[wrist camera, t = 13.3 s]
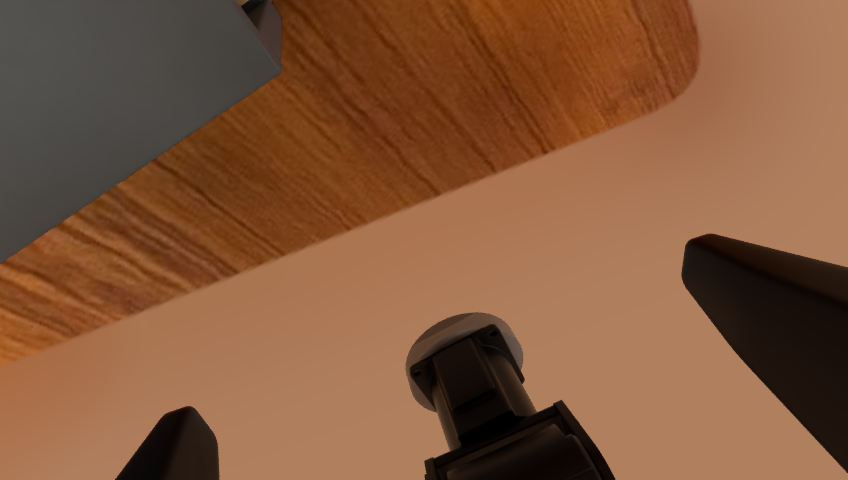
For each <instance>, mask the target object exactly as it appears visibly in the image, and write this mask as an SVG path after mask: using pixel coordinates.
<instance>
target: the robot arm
mask: <svg viewBox="0 0 848 480" xmlns="http://www.w3.org/2000/svg"><path fill="white" fill-rule="evenodd" d="M682 280H683V283H684V285H685V287H686V289H687V290H688V291H689V293H690V294H691V295H692V296H693V298H694V299H695V300H696V302H697V303H698V304H699V306H700V307H701V308H702V309H703V311H704V312H705V314H706V315H707V316H708V317H709V319H710V320H711V321H712V323H713V324H714V325H715V327H716V328H717V329H718V331H719V332H720V333H721V335H722V336H723V337H724V338H725V340H726V341H727V342H728V344H729V345H730V346H731V347H732V349H733V350H734V351H735V352H736V353H737V354H738V355H739V357H740V358H741V359H742V360H743V361H744V362H745V364H746V365H747V366H748V367H749V368H750V369H751V370H752V371H753V372H754V373H755V374H756V375H757V377H758V378H759V379H760V380H761V381H762V382H763V383H764V384H765V385H766V386H767V387H768V388H769V389H770V390H771V391H772V393H773V394H774V395H775V396H776V397H777V398H778V399H779V400H780V401H781V402H782V403H783V404H784V405H785V407H786V408H787V409H788V410H789V411H790V412H791V413H792V414H793V415H794V416H795V417H796V418H797V419H798V420H799V422H801V424H802V425H803V426H804V427H805V428H806V429H807V430H808V431H809V432H810V433H811V434H812V436H814V438H815V439H816V440H817V441H818V442H819V443H820V444H821V445H822V446H823V447H824V448H825V450H826V451H827V452H829V454H830V455H831V456H832V457H833V458H834V459H835V460H836V461H837V462H838V463H839V465H840V466H841V467H842V468H843V469H844V470H845V471H846V472H847V473H848V267H844V266H840V265H836V264H832V263H827V262H823V261H819V260H816V259H812V258H808V257H804V256H800V255H795V254H791V253H787V252H784V251H779V250H775V249H771V248H768V247H764V246H760V245H756V244H752V243H748V242H744V241H740V240H736V239H732V238H728V237H724V236H719V235H716V234H705V235H702V236H699V237H696V238H693V239H691V240H689V241H688V243H687V244H686V246H685V252H684V260H683V266H682ZM492 331H493V332H492ZM491 332H492V333H491ZM416 371H417V372H416ZM409 373H410V376H411V378H412V379H413V381H414V382H415V383H416V385H417V386H418V387H419V389H420V390H421V391H422V393H423V394H424V395H425V397H426V398H427V399H428V401H429V402H430V403H431V405H432V406H433V407H434V409H435V410H436V411H437V413H438V416H439V419H440V422H441V425H442V428H443V432H444V434H445V437H446V440H447V444H448V447H449V450H450V452H447V453H445V454H443V455H440V456H438V457H436V458H433V457H432V458H430V459H428V460H425V461H424V462H425V467H426V473H427V474H425V480H615V477H614V475H613V474H612V472H611V470H610V468H609V467H608V464H607V463H606V461H605V459H604V457H603V456H602V454H601V453H600V451H599V450H598V448H597V447H596V445H595V444H594V443H593V441H592V440H591V439H590V437H589V436H588V434H587V433H586V432H585V430H584V429H583V428H582V426H581V425H580V424H579V422H578V421H577V420H576V418H575V417H574V416H573V414H572V413H571V412H570V410H569V409H568V408H567V406H566V405H565V404H564V403H563V401H562V400H560V401H558V402H556V403H553V406H551V407H548V408H546V409H544V410H542V411H539V412H537V411H536V409H535V407H534V406H533V404H532V402H531V400H530V398H529V396H528V395H527V393H526V391H525V389H524V387H523V385H522V384H523V382H524V380H525V379H524V377H523V374H522V373H521V371H520V369H519V367H518V365H517V363H516V361H515V359H514V357H513V355H512V353H511V351H510V349H509V347H508V345H507V343H506V341H505V339H504V337H503V335H502V333H501V331H500V329H499V327H498V326H497V325H496V324H490V325H488V326H486V327H484V328H482V329H480V330H478V331H476V332H474V333H472V334H470V335H469V336H467V337H465V338H463V339H461V340H459V341H457V342H455V343H453V344H451V345H449V346H448V347H446V348H444V349H442V350H440V351H438V352H436V353H434V354H432V355H430V356H428V357H427V358H425V359H423V360H421V361H419V362H417V363H415V364H413V365H412V366H411V367H410V368H409ZM115 480H219V457H218V444H217V440H216V437H215V435H214V433H213V432H212V430H211V429H210V428H209V426H208V425H207V424H206V422H205V421H204V420H203V418H202V417H201V416H200V414H199V413H198V412H197V410H196V409H195V408H193V407H191V406H186V407H183V408H180V409H177V410H174V411H171V412H169V413H166V414H165V415H164V416H163V417H162V418H161V419H160V420H159V421H158V423H157V424H156V425H155V427H154V428H153V430H152V431H151V432H150V434H149V435H148V436H147V438H146V439H145V440H144V442H143V443H142V444H141V446H140V447H139V448H138V450H137V451H136V452H135V454H134V455H133V456H132V458H131V459H130V461H129V462H128V463H127V464H126V466H125V467H124V468H123V470H122V471H121V472H120V474H119V475H118V476H117V478H116V479H115Z"/></svg>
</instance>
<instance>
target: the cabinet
mask: <svg viewBox="0 0 848 480" xmlns="http://www.w3.org/2000/svg"><path fill="white" fill-rule="evenodd" d="M281 34H282V18H281V16H280V14H279V13H278V11H277V10H276V8H275V7H274V5H273V4H272V2H271V1H270V0H249V1H247V2H246V3H244V4H243V5H241V6H240V5H239V4H238V2H237V1H236V0H0V264H1V263H2V262H4V261H5V260H7V259H8V258H10V257H11V256H12V255H14V254H15V253H17V252H18V251H20V250H21V249H23V248H24V247H26V246H27V245H29V244H30V243H32V242H33V241H35V240H36V239H38V238H39V237H40V236H42V235H43V234H45V233H46V232H48V231H49V230H51V229H52V228H54V227H55V226H57V225H58V224H60V223H61V222H63V221H64V220H66V219H67V218H68V217H70V216H71V215H73V214H74V213H76V212H77V211H79V210H80V209H82V208H83V207H85V206H86V205H88V204H89V203H91V202H92V201H94V200H95V199H96V198H98V197H99V196H101V195H102V194H104V193H105V192H107V191H108V190H110V189H111V188H113V187H114V186H116V185H117V184H119V183H120V182H121V181H123V180H124V179H126V178H127V177H129V176H130V175H132V174H133V173H135V172H136V171H138V170H139V169H141V168H142V167H144V166H145V165H147V164H148V163H149V162H151V161H152V160H154V159H155V158H157V157H158V156H160V155H161V154H163V153H164V152H166V151H167V150H169V149H170V148H172V147H173V146H175V145H176V144H177V143H179V142H180V141H182V140H183V139H185V138H186V137H188V136H189V135H191V134H192V133H194V132H195V131H197V130H198V129H200V128H201V127H203V126H204V125H205V124H207V123H208V122H210V121H211V120H213V119H214V118H216V117H217V116H219V115H220V114H222V113H223V112H225V111H226V110H228V109H229V108H230V107H232V106H233V105H235V104H236V103H238V102H239V101H241V100H242V99H244V98H245V97H247V96H248V95H250V94H251V93H253V92H254V91H256V90H257V89H258V88H260V87H261V86H263V85H264V84H266V83H267V82H269V81H270V80H272V79H273V78H275V77H276V76H278V75H279V74H280V73H281V72H282V64H281Z"/></svg>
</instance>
